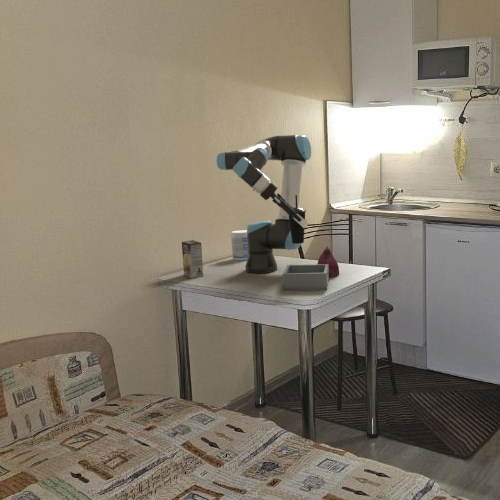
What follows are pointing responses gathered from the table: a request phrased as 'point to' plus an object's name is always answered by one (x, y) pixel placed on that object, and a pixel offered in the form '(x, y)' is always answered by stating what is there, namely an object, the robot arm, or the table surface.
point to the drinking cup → (297, 225)
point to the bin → (306, 277)
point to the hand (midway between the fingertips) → (305, 224)
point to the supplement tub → (239, 245)
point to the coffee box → (192, 258)
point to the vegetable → (329, 262)
